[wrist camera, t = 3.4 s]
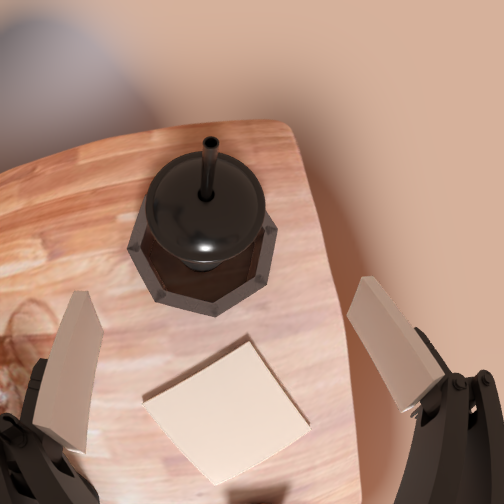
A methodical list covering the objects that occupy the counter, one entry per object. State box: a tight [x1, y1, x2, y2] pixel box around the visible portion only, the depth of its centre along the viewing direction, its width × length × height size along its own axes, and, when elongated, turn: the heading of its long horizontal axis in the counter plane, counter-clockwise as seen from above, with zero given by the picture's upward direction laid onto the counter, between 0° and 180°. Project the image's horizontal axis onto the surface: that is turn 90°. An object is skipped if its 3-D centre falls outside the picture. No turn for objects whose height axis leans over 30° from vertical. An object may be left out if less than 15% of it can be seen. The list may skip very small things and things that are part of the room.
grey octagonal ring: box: [127, 194, 278, 317], centre depth 27 cm, size 13×13×5 cm
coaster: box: [142, 341, 312, 486], centre depth 26 cm, size 14×14×1 cm
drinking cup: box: [145, 136, 266, 272], centre depth 20 cm, size 8×8×20 cm
